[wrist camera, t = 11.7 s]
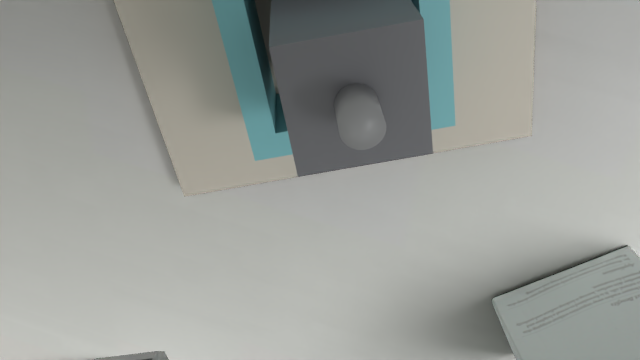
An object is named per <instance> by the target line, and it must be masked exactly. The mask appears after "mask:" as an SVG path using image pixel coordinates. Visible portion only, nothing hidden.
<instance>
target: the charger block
mask: <svg viewBox="0 0 640 360" xmlns="http://www.w3.org/2000/svg"><path fill="white" fill-rule="evenodd" d="M269 50H270V55H271V59H272V64H273V68H274V72H275V77H276V81H277V86H278V90H279V95H280V99H281V104H282V108H283V113H284V117H285V122H286V126H287V131H288V135H289V140H290V144H291V149H292V153H293V157H294V162H295V166H296V171H297V175H298V177H300V176H305V175H311V174H317V173H323V172H329V171H334V170H340V169H346V168H352V167H358V166H363V165H369V164H375V163H381V162H387V161H392V160H398V159H404V158H410V157H416V156H421V155H427V154H433V144H432V130H431V116H430V101H429V87H428V73H427V58H426V44H425V30H424V19H423V17H422V16H421V14H420V13H419V11H418V10H417V9H416V7H415V6H414V4H413V3H412V1H411V0H271V15H270V35H269Z"/></svg>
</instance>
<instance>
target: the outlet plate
mask: <svg viewBox="0 0 640 360" xmlns="http://www.w3.org/2000/svg"><path fill="white" fill-rule="evenodd" d="M113 1H114V4H115V6H116V9H117V12H118V15H119V18H120V20H121V23H122V26H123V29H124V31H125V34H126V37H127V40H128V42H129V45H130V48H131V51H132V53H133V56H134V59H135V62H136V65H137V67H138V70H139V73H140V76H141V78H142V81H143V84H144V87H145V89H146V92H147V95H148V98H149V100H150V103H151V106H152V109H153V111H154V114H155V117H156V120H157V123H158V125H159V128H160V131H161V134H162V136H163V139H164V142H165V145H166V147H167V150H168V153H169V156H170V158H171V161H172V164H173V167H174V169H175V172H176V175H177V178H178V181H179V183H180V186H181V189H182V192H183V194H184V197H185V196H191V195H197V194H202V193H208V192H214V191H220V190H225V189H231V188H237V187H242V186H248V185H254V184H260V183H265V182H271V181H277V180H283V179H288V178H294V177H298V175H297V171H296V166H295V162H294V157H293V153H292V149H291V144H290V140H289V135H288V131H287V126H286V122H285V117H284V113H283V108H282V104H281V99H280V95H279V90H278V86H277V81H276V77H275V72H274V68H273V64H272V59H271V55H270V50H269V35H270V15H271V0H113ZM411 1H412V3H413V4H414V6H415V7H416V9H417V10H418V11H419V13H420V14H421V16H422V17H423V19H424V30H425V44H426V58H427V73H428V87H429V101H430V116H431V130H432V144H433V153H437V152H443V151H449V150H454V149H460V148H466V147H472V146H477V145H483V144H489V143H494V142H500V141H506V140H512V139H517V138H523V137H529V136H532V112H533V83H534V54H535V25H536V0H411Z"/></svg>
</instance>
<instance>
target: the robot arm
mask: <svg viewBox="0 0 640 360" xmlns="http://www.w3.org/2000/svg"><path fill="white" fill-rule="evenodd" d="M92 360H169V359H168V357H167V356H166V354H165V352H164V351H154V352H146V353H138V354H129V355H121V356H113V357H105V358H96V359H92Z"/></svg>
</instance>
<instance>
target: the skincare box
mask: <svg viewBox="0 0 640 360" xmlns="http://www.w3.org/2000/svg"><path fill="white" fill-rule="evenodd" d="M492 303H493V306H494V309H495V311H496V314H497V316H498V318H499V321H500V323H501V326H502V328H503V330H504V333H505V335H506V338H507V340H508V342H509V345H510V347H511V349H512V352H513V354H514V356H515V358H516V360H640V258H639V257H638V256H637V255H636V253H635V252H634V251H633V250H632V249H631V248H630V247H629V246H627V247H624V248H621V249H619V250H616V251H614V252H611V253H609V254H606V255H604V256H601V257H599V258H596V259H593V260H591V261H588V262H586V263H583V264H580V265H578V266H575V267H573V268H570V269H568V270H565V271H562V272H560V273H557V274H555V275H552V276H549V277H547V278H544V279H542V280H539V281H536V282H534V283H531V284H529V285H526V286H523V287H521V288H518V289H516V290H513V291H511V292H508V293H506V294H503V295H500V296H497V297H495V298H493V299H492Z"/></svg>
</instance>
